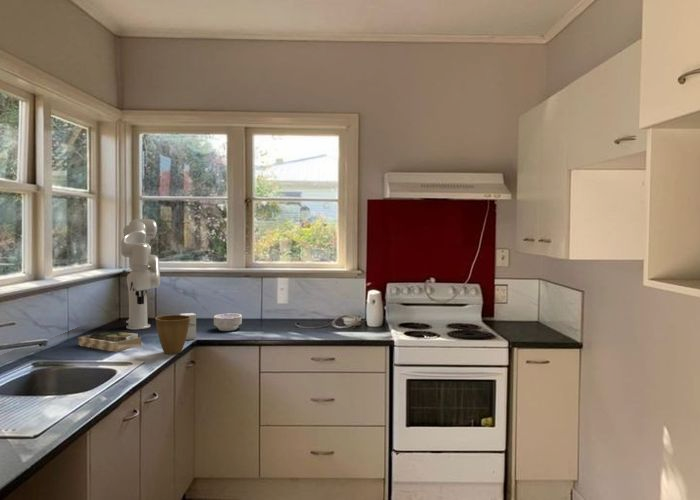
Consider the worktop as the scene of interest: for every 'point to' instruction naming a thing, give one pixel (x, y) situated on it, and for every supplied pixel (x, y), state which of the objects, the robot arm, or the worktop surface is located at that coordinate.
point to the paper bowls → (227, 321)
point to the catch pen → (109, 343)
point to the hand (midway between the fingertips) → (140, 303)
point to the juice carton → (114, 336)
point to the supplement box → (191, 326)
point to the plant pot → (172, 332)
